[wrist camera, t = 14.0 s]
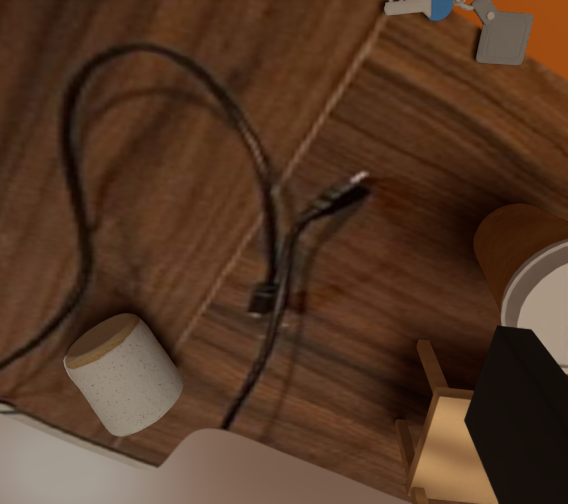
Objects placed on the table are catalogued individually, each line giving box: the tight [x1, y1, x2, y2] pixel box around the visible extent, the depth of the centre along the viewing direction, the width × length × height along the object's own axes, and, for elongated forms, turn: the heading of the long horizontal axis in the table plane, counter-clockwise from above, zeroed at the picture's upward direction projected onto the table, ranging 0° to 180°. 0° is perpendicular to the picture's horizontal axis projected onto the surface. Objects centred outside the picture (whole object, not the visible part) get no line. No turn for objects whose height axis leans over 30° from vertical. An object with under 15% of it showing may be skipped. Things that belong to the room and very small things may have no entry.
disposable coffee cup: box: [473, 203, 568, 374], centre depth 35 cm, size 10×10×12 cm
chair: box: [394, 339, 498, 504], centre depth 39 cm, size 11×11×18 cm
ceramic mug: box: [64, 313, 184, 436], centre depth 43 cm, size 11×8×8 cm
